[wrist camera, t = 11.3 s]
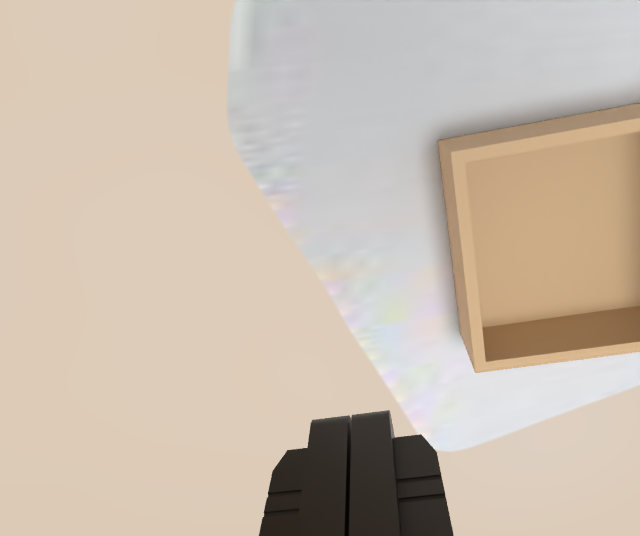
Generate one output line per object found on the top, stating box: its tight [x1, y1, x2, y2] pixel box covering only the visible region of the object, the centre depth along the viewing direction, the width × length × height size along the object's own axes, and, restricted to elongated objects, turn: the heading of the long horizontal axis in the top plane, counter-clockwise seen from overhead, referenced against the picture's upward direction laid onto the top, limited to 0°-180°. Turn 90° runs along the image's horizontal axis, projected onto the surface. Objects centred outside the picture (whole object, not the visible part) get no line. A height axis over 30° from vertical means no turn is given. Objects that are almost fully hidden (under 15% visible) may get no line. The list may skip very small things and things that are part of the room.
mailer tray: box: [438, 103, 640, 373], centre depth 38 cm, size 16×20×6 cm
